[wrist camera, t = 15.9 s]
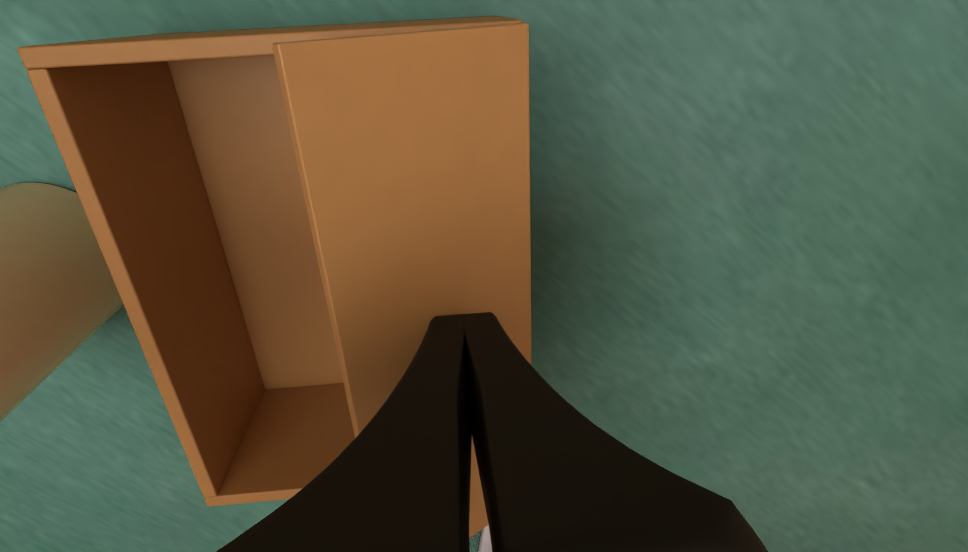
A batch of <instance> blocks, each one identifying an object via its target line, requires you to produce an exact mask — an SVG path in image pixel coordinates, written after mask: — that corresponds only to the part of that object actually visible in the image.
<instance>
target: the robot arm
mask: <svg viewBox="0 0 968 552" xmlns="http://www.w3.org/2000/svg"><path fill="white" fill-rule="evenodd" d="M472 438H473V443H474V449H475V454H476V460H477V465H478V470H479V476H480V481H481V487H482V492H483V497H484V503H485V508H486V514H487V519H488V524H489V525H488V526H486V527H485V528H483V529H482V533H481V538H480V544H479V549H478V552H768V551H767V549H766V548H765V546H764V545H763V543H762V542H761V540H760V539H759V537H758V536H757V534H756V533H755V532H754V530H753V529H752V527H751V526H750V525H749V524H748V522H747V521H746V520H745V518H744V517H743V516H742V515H741V513H740V512H739V511H738V509H737V508H736V507H735V505H734V504H733V502H732V501H731V500H729V499H726V498H724V497H722V496H720V495H718V494H716V493H714V492H712V491H710V490H707V489H705V488H703V487H701V486H699V485H697V484H695V483H693V482H690V481H688V480H686V479H684V478H682V477H680V476H678V475H676V474H674V473H672V472H670V471H668V470H666V469H664V468H663V467H661V466H659V465H657V464H656V463H654V462H652V461H650V460H649V459H647V458H645V457H643V456H641V455H640V454H638V453H636V452H635V451H633V450H632V449H630V448H628V447H627V446H625V445H624V444H622V443H621V442H619V441H618V440H616V439H615V438H613V437H612V436H610V435H609V434H607V433H606V432H605V431H603V430H602V429H600V428H599V427H597V426H596V425H595V424H593V423H592V422H591V421H589V420H588V419H587V418H586V417H584V416H583V415H582V414H581V413H580V412H578V411H577V410H576V409H575V408H574V407H572V406H571V405H570V404H569V403H568V402H567V401H566V400H565V399H563V398H562V397H561V396H560V395H559V394H558V393H557V392H556V391H555V390H554V389H553V388H552V387H551V386H550V385H549V384H548V383H547V382H546V381H545V380H544V379H543V378H542V377H541V376H540V375H539V373H538V372H537V371H536V370H535V369H534V368H533V367H532V366H531V364H530V363H529V362H528V361H527V360H526V358H525V357H524V356H523V355H522V354H521V352H520V351H519V350H518V349H517V347H516V346H515V345H514V343H513V342H512V341H511V339H510V338H509V336H508V335H507V334H506V332H505V331H504V329H503V327H502V326H501V324H500V322H499V321H498V319H497V317H496V316H495V315H494V314H493V313H492V312H484V313H471V314H458V315H445V316H435V317H434V318H433V319H432V320H431V321H430V323H429V326H428V329H427V331H426V334H425V336H424V338H423V340H422V342H421V344H420V346H419V348H418V350H417V352H416V354H415V356H414V358H413V359H412V361H411V363H410V364H409V366H408V368H407V370H406V371H405V373H404V375H403V376H402V378H401V379H400V381H399V382H398V384H397V385H396V387H395V388H394V390H393V391H392V393H391V394H390V395H389V397H388V398H387V400H386V401H385V403H384V404H383V405H382V407H381V408H380V409H379V411H378V412H377V413H376V414H375V416H374V417H373V418H372V419H371V421H370V422H369V423H368V424H367V425H366V426H365V428H364V429H363V430H362V431H361V432H360V433H359V435H358V436H357V437H356V438H355V439H354V440H353V441H352V442H351V443H350V444H349V445H348V446H347V447H346V448H345V449H344V450H343V451H342V453H341V454H340V455H339V456H338V457H337V458H336V459H335V460H334V461H333V462H332V463H331V464H330V465H329V466H328V467H326V468H325V469H324V470H323V471H322V472H321V473H320V474H319V475H318V476H316V477H315V478H314V479H313V480H312V481H311V482H310V483H308V484H307V485H306V486H305V487H304V488H303V489H301V490H300V491H299V492H298V493H296V494H295V495H294V496H293V497H292V498H290V499H289V500H288V501H287V502H285V503H284V504H283V505H281V506H280V507H279V508H278V509H276V510H275V511H274V512H272V513H271V514H269V515H268V516H267V517H265V518H264V519H262V520H261V521H260V522H258V523H257V524H255V525H254V526H253V527H251V528H250V529H248V530H247V531H245V532H244V533H243V534H241V535H240V536H238V537H237V538H236V539H234V540H233V541H231V542H230V543H228V544H227V545H225V546H224V547H222V548H221V549H219V550H218V551H217V552H470V550H469V515H470V482H471V449H472Z"/></svg>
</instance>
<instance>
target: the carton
mask: <svg viewBox="0 0 968 552" xmlns="http://www.w3.org/2000/svg"><path fill="white" fill-rule="evenodd" d="M518 23H523V21H522V20H520V19H513V18H507V17H500V16H482V17H464V18H446V19H427V20H409V21H390V22H372V23H354V24H335V25H317V26H298V27H280V28H262V29H243V30H225V31H207V32H188V33H170V34H152V35H141V36H131V37H120V38H110V39H99V40H89V41H78V42H68V43H57V44H47V45H36V46H26V47H19V48H18V52H19V54H20V57H21V59H22V61H23V64H24V66H25V68H26V69H29V70H27V74H28V76H29V78H30V81H31V83H32V86H33V88H34V90H35V93H36V95H37V98H38V100H39V102H40V105H41V107H42V110H43V112H44V114H45V117H46V119H47V122H48V124H49V126H50V129H51V131H52V134H53V136H54V138H55V141H56V143H57V146H58V148H59V150H60V153H61V155H62V158H63V160H64V162H65V165H66V167H67V170H68V172H69V174H70V177H71V179H72V182H73V184H74V186H75V189H76V191H77V194H78V196H79V198H80V201H81V203H82V206H83V208H84V210H85V213H86V215H87V218H88V220H89V223H90V225H91V227H92V230H93V232H94V235H95V237H96V239H97V242H98V244H99V247H100V249H101V251H102V254H103V256H104V259H105V261H106V263H107V266H108V268H109V271H110V273H111V275H112V278H113V280H114V283H115V285H116V287H117V290H118V292H119V295H120V297H121V299H122V302H123V304H124V307H125V309H126V311H127V314H128V316H129V319H130V321H131V323H132V326H133V328H134V331H135V333H136V335H137V338H138V340H139V343H140V345H141V347H142V350H143V352H144V355H145V357H146V359H147V362H148V364H149V367H150V369H151V372H152V374H153V376H154V379H155V381H156V384H157V386H158V388H159V391H160V393H161V396H162V398H163V400H164V403H165V405H166V408H167V410H168V412H169V415H170V417H171V420H172V422H173V424H174V427H175V429H176V432H177V434H178V436H179V439H180V441H181V444H182V446H183V448H184V451H185V453H186V456H187V458H188V460H189V463H190V465H191V468H192V470H193V472H194V475H195V477H196V480H197V482H198V484H199V487H200V489H201V492H202V494H203V496H204V497H205V498H204V499H205V501H206V504H207V506H219V505H229V504H240V503H250V502H261V501H271V500H282V499H290V498H292V497H293V496H294V495H295V494H296V493H298V492H299V491H300V490H301V489H303V488H304V487H305V486H306V485H307V484H308V483H310V482H311V481H312V480H313V479H314V478H315V477H316V476H318V475H319V474H320V473H321V472H322V471H323V470H324V469H325V468H326V467H328V466H329V465H330V464H331V463H332V462H333V461H334V460H335V459H336V458H337V457H338V456H339V455H340V454H341V453H342V451H343V450H344V449H345V448H346V447H347V446H348V445H349V444H350V443H351V442H352V441H353V440H354V439H355V434H354V430H353V425H352V420H351V416H350V411H349V406H348V401H347V397H346V392H345V387H344V383H343V378H342V373H341V369H340V364H339V359H338V354H337V350H336V345H335V340H334V336H333V331H332V326H331V321H330V317H329V312H328V307H327V303H326V298H325V293H324V288H323V284H322V279H321V274H320V270H319V265H318V260H317V255H316V251H315V246H314V241H313V237H312V232H311V227H310V223H309V218H308V213H307V208H306V204H305V199H304V194H303V190H302V185H301V180H300V175H299V171H298V166H297V161H296V157H295V152H294V147H293V142H292V138H291V133H290V128H289V124H288V119H287V114H286V109H285V105H284V100H283V95H282V91H281V86H280V81H279V77H278V72H277V67H276V62H275V58H274V53H273V48H272V44H273V43H279V42H292V41H304V40H317V39H330V38H342V37H355V36H367V35H380V34H392V33H405V32H417V31H430V30H443V29H455V28H468V27H480V26H493V25H505V24H518Z"/></svg>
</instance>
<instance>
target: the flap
mask: <svg viewBox="0 0 968 552" xmlns="http://www.w3.org/2000/svg"><path fill="white" fill-rule="evenodd" d="M272 48H273V53H274V58H275V62H276V67H277V72H278V77H279V81H280V86H281V91H282V95H283V100H284V105H285V109H286V114H287V119H288V124H289V128H290V133H291V138H292V142H293V147H294V152H295V157H296V161H297V166H298V171H299V175H300V180H301V185H302V190H303V194H304V199H305V204H306V208H307V213H308V218H309V223H310V227H311V232H312V237H313V241H314V246H315V251H316V255H317V260H318V265H319V270H320V274H321V279H322V284H323V288H324V293H325V298H326V303H327V307H328V312H329V317H330V321H331V326H332V331H333V336H334V340H335V345H336V350H337V354H338V359H339V364H340V369H341V373H342V378H343V383H344V387H345V392H346V397H347V401H348V406H349V411H350V416H351V420H352V425H353V430H354V434H355V438H356V437H357V436H358V435H359V433H360V432H361V431H362V430H363V429H364V428H365V426H366V425H367V424H368V423H369V422H370V421H371V419H372V418H373V417H374V416H375V414H376V413H377V412H378V411H379V409H380V408H381V407H382V405H383V404H384V403H385V401H386V400H387V398H388V397H389V395H390V394H391V393H392V391H393V390H394V388H395V387H396V385H397V384H398V382H399V381H400V379H401V378H402V376H403V375H404V373H405V371H406V370H407V368H408V366H409V364H410V363H411V361H412V359H413V358H414V356H415V354H416V352H417V350H418V348H419V346H420V344H421V342H422V340H423V338H424V336H425V334H426V331H427V329H428V326H429V323H430V321H431V320H432V319H433V318H434V317H435V316H445V315H458V314H471V313H484V312H492V313H493V314H494V315H495V316H496V317H497V319H498V321H499V322H500V324H501V326H502V327H503V329H504V331H505V332H506V334H507V335H508V336H509V338H510V339H511V341H512V342H513V343H514V345H515V346H516V347H517V349H518V350H519V351H520V352H521V354H522V355H523V356H524V357H525V358H526V360H527V361H528V362H529V363H530V364H531V249H530V122H529V25H528V24H527V23H518V24H505V25H493V26H480V27H468V28H455V29H443V30H430V31H417V32H405V33H392V34H380V35H367V36H355V37H342V38H330V39H317V40H304V41H292V42H279V43H273V44H272ZM488 525H489V524H488V519H487V514H486V508H485V503H484V497H483V492H482V487H481V481H480V476H479V470H478V465H477V460H476V454H475V449H474V443H473V438H472V449H471V482H470V515H469V538H470V537H472V536H473V535H475V534H476V533H477V532H479V531H480V530H482V529H483V528H485V527H486V526H488Z"/></svg>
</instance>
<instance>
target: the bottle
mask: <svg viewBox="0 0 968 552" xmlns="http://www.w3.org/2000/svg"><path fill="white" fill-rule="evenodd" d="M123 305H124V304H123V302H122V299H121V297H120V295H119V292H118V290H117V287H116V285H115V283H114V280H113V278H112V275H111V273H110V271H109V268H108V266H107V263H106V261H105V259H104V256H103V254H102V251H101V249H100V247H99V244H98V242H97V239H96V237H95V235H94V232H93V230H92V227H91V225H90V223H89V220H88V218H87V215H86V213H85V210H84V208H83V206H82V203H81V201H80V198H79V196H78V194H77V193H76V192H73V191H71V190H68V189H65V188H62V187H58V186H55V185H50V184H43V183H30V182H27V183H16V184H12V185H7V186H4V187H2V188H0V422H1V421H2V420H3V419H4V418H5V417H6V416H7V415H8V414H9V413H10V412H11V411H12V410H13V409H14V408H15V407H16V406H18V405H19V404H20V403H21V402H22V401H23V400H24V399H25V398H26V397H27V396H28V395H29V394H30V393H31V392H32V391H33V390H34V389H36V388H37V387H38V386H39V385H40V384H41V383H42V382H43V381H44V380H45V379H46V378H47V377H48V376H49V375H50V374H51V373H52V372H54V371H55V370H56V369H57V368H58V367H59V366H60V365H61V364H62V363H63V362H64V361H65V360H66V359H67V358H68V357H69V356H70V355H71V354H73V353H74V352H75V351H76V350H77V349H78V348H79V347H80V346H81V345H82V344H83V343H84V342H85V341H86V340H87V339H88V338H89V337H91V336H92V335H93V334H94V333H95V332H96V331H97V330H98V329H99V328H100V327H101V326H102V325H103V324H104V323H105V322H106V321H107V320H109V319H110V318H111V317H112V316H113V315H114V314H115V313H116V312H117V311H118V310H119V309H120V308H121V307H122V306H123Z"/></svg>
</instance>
